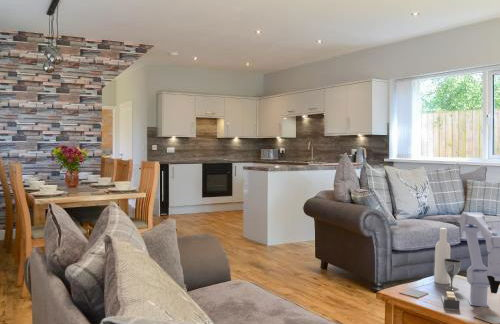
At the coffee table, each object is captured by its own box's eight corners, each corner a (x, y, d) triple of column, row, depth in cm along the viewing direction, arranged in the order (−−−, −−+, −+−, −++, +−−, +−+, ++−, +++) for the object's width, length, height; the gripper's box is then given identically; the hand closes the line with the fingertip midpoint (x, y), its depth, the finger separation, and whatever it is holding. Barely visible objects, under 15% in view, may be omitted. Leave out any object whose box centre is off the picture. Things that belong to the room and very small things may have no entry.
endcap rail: (441, 298, 230) (441, 289, 230) (455, 300, 228) (456, 290, 228) (444, 309, 215) (444, 299, 215) (459, 310, 213) (459, 300, 213)
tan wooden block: (446, 301, 224) (446, 291, 224) (453, 302, 223) (453, 292, 223) (447, 307, 215) (447, 296, 215) (455, 308, 214) (455, 297, 214)
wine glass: (462, 291, 243) (463, 262, 243) (446, 290, 243) (447, 262, 243) (455, 286, 251) (456, 258, 251) (440, 286, 251) (441, 258, 251)
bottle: (450, 284, 254) (452, 229, 253) (435, 283, 256) (437, 229, 255) (447, 280, 262) (449, 227, 261) (432, 279, 264) (434, 226, 263)
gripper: (482, 258, 216) (481, 287, 217) (487, 265, 202) (486, 296, 203) (499, 259, 214) (498, 289, 214) (505, 267, 200) (504, 298, 201)
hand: (493, 292), depth 208 cm, fingers closed
